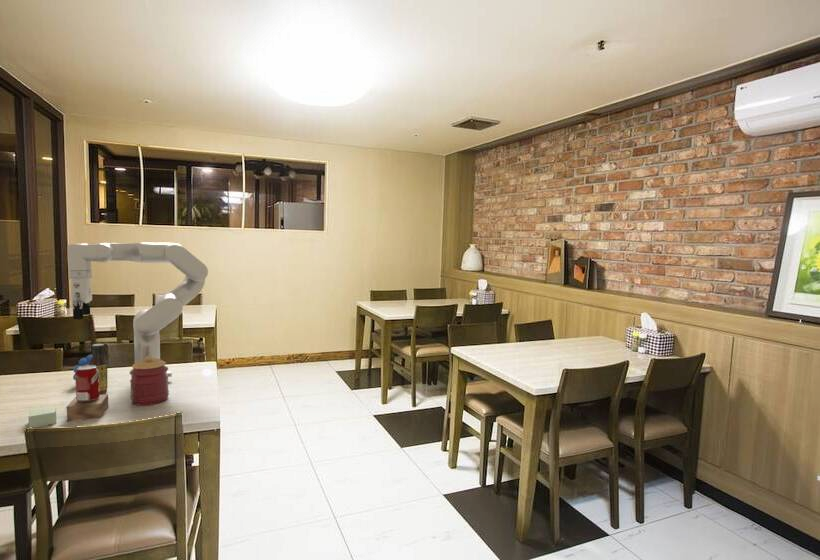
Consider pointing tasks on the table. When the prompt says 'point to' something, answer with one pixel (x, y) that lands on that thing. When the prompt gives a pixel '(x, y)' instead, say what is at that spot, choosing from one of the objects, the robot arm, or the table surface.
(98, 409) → the walnut block
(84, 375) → the soda can
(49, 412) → the green block
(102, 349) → the sauce bottle
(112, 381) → the table surface
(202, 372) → the table surface
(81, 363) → the grapes
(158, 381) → the canister
